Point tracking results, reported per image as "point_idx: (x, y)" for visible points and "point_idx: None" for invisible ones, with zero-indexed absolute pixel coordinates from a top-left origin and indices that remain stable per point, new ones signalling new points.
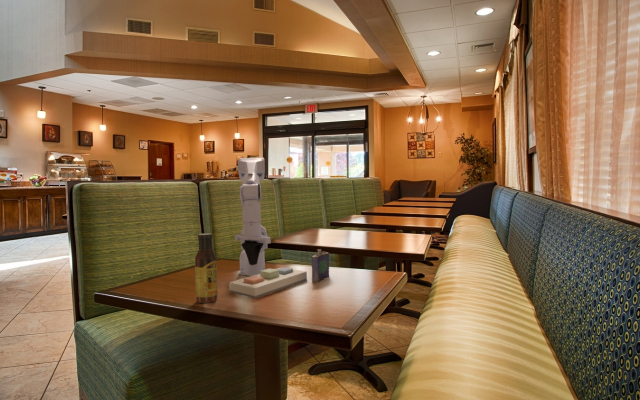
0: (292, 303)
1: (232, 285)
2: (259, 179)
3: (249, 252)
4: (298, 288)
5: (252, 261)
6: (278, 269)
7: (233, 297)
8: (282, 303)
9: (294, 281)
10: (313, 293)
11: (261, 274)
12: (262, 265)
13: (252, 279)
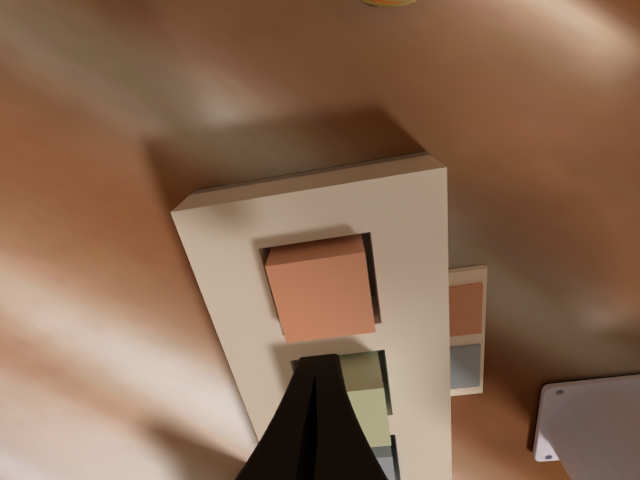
0: (17, 270)
1: (403, 168)
2: None
3: (283, 472)
4: (214, 397)
5: (290, 388)
6: (381, 466)
7: (312, 113)
8: (41, 241)
9: None
10: (108, 393)
11: (369, 372)
12: (570, 474)
13: (298, 278)
